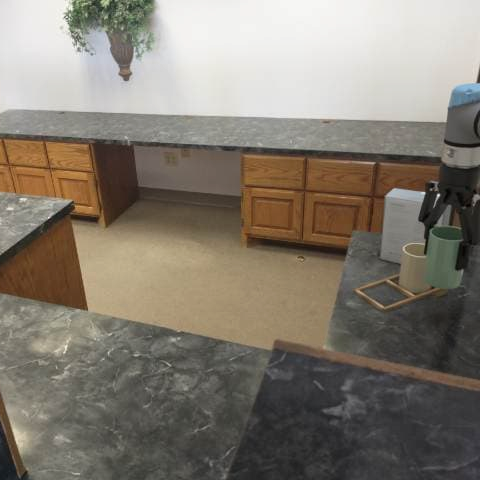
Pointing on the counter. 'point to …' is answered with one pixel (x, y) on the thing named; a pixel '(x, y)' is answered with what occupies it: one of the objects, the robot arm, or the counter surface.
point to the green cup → (443, 257)
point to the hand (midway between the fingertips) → (444, 260)
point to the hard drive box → (404, 222)
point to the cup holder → (411, 296)
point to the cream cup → (413, 268)
